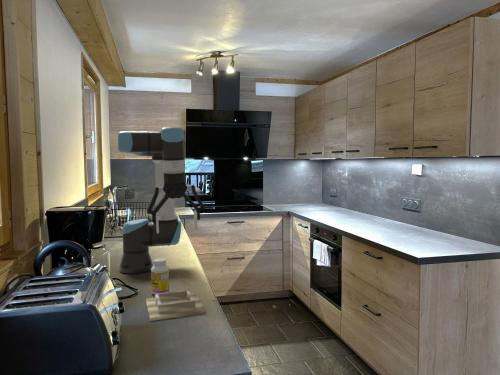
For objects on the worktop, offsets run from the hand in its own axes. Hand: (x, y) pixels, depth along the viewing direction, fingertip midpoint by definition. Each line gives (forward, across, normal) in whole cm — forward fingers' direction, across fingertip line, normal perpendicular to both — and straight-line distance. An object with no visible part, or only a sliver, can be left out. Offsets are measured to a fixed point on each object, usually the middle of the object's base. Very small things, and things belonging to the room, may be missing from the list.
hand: (177, 230), depth 136 cm
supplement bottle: (+27, -7, +8) cm, 28 cm away
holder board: (+25, -3, -9) cm, 26 cm away
